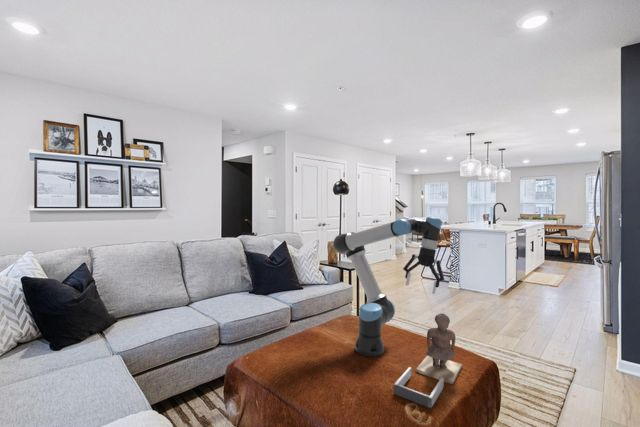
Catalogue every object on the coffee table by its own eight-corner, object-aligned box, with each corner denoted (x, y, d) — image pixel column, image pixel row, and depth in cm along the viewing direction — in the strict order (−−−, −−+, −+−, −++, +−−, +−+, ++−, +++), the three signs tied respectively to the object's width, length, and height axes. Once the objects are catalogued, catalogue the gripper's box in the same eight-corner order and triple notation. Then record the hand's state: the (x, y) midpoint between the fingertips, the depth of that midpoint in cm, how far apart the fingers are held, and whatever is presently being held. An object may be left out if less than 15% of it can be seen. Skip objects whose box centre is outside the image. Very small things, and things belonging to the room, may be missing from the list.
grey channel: (393, 393, 130) (394, 384, 130) (408, 375, 144) (409, 366, 144) (431, 408, 121) (431, 398, 121) (443, 387, 135) (443, 378, 135)
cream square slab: (416, 372, 147) (416, 368, 147) (428, 356, 161) (428, 354, 161) (452, 384, 137) (452, 381, 137) (462, 367, 152) (462, 364, 152)
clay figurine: (428, 371, 145) (430, 317, 144) (422, 360, 155) (424, 309, 154) (457, 373, 144) (459, 318, 143) (450, 361, 154) (452, 310, 153)
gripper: (455, 253, 156) (447, 295, 157) (406, 242, 170) (399, 281, 171) (452, 254, 150) (443, 297, 151) (402, 242, 164) (394, 282, 165)
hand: (420, 289), depth 161 cm, fingers open, 13 cm apart
